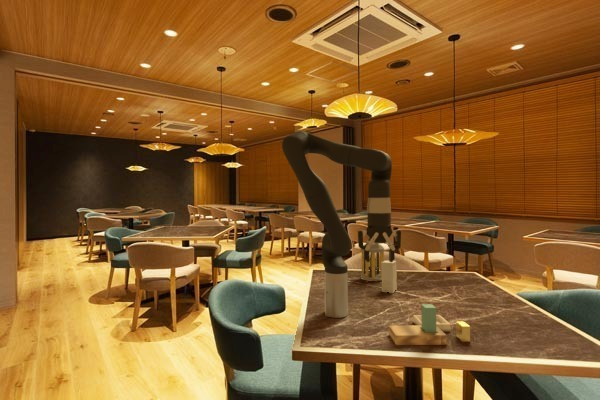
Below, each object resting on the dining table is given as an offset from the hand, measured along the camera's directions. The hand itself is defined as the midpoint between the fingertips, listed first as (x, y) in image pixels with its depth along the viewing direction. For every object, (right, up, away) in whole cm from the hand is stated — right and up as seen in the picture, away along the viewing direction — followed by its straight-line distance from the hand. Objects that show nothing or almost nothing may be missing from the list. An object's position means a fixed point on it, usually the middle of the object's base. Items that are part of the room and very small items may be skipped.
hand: (379, 261), depth 106 cm
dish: (+21, -26, +11) cm, 35 cm away
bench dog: (+28, -26, 0) cm, 38 cm away
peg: (+16, -26, 0) cm, 30 cm away
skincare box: (+19, -26, +56) cm, 64 cm away
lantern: (+16, -26, +80) cm, 85 cm away
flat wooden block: (+12, -26, 0) cm, 29 cm away
